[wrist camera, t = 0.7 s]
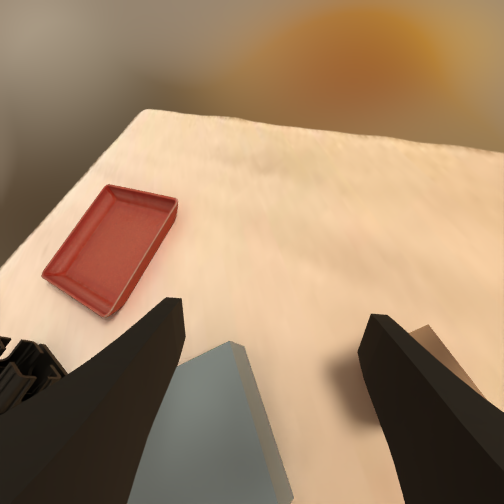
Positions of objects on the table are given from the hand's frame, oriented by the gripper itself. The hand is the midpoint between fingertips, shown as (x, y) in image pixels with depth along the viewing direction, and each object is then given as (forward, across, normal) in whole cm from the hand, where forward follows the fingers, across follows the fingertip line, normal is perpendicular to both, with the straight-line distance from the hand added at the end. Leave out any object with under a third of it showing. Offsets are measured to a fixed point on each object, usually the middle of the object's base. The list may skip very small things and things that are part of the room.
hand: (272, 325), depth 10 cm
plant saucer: (+27, +22, +12) cm, 37 cm away
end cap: (+12, +28, +25) cm, 40 cm away
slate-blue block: (+5, +4, +20) cm, 21 cm away
